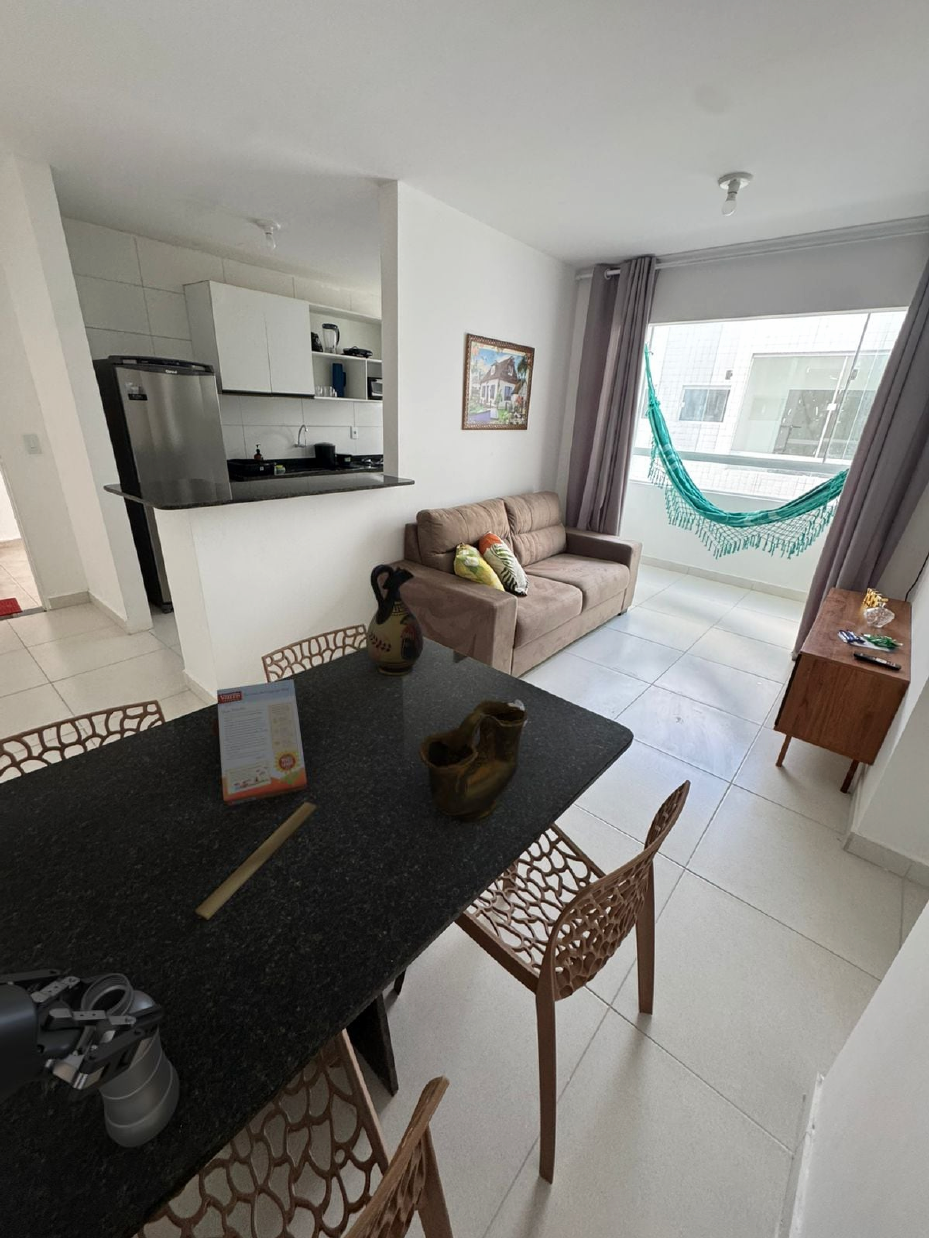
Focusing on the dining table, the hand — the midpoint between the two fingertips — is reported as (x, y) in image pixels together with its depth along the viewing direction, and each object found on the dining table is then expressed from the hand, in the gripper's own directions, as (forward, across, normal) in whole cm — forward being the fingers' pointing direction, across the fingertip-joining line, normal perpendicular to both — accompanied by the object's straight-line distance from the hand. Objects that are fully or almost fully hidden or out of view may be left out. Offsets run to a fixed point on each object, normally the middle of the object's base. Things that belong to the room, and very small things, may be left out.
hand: (133, 1001), depth 48 cm
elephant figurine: (+69, -11, -46) cm, 84 cm away
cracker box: (+37, +20, -16) cm, 45 cm away
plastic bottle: (+10, 0, +13) cm, 17 cm away
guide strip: (+32, +13, -8) cm, 36 cm away
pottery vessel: (+50, -12, -27) cm, 59 cm away
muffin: (+46, +36, -22) cm, 62 cm away
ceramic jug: (+77, +27, -53) cm, 97 cm away
